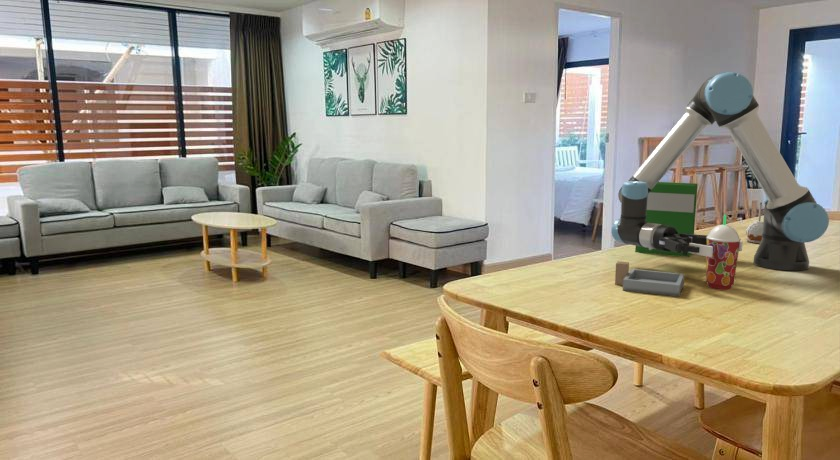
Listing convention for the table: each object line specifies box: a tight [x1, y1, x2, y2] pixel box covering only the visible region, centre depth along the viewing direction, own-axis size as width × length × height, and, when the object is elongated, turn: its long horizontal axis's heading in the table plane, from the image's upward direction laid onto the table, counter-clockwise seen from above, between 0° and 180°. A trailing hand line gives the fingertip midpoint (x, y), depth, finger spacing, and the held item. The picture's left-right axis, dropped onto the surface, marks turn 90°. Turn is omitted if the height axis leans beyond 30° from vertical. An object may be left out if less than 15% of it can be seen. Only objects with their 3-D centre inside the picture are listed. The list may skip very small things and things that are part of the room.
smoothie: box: [705, 214, 742, 291], centre depth 173 cm, size 8×8×20 cm
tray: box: [614, 261, 685, 298], centre depth 175 cm, size 17×14×6 cm
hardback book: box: [634, 181, 699, 258], centre depth 219 cm, size 18×7×24 cm, turn 61°
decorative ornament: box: [745, 202, 763, 244], centre depth 238 cm, size 8×8×15 cm
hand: (727, 249), depth 171 cm, fingers open, 13 cm apart
